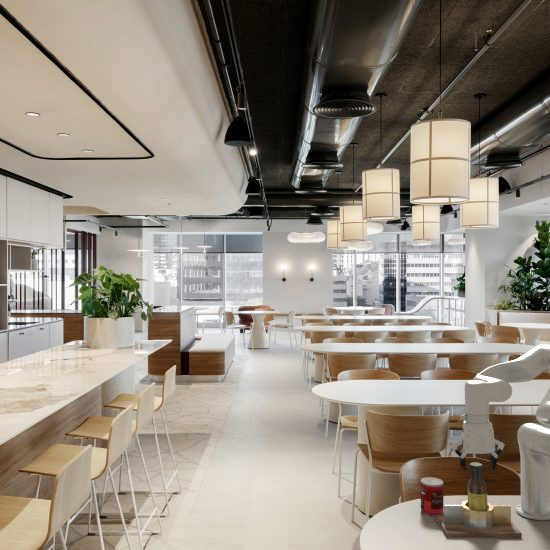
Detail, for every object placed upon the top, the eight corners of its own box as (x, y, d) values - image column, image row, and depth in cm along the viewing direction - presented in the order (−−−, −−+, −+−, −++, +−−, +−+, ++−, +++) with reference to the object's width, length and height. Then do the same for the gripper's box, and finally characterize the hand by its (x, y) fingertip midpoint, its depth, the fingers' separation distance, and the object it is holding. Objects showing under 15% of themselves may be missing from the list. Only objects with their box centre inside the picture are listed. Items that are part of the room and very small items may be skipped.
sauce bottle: (475, 517, 199) (474, 459, 199) (491, 523, 194) (490, 463, 194) (464, 522, 195) (462, 463, 195) (480, 528, 190) (479, 467, 190)
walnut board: (436, 518, 202) (436, 514, 202) (506, 519, 201) (506, 514, 201) (446, 537, 188) (446, 532, 188) (521, 537, 187) (521, 533, 187)
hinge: (440, 516, 200) (440, 499, 200) (505, 517, 199) (505, 499, 199) (447, 529, 190) (447, 511, 190) (516, 530, 189) (516, 512, 189)
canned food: (424, 505, 213) (424, 475, 213) (446, 509, 209) (445, 479, 209) (417, 513, 207) (417, 482, 207) (440, 517, 203) (440, 486, 202)
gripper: (454, 421, 191) (455, 473, 191) (507, 420, 190) (508, 472, 190) (448, 415, 198) (449, 465, 198) (499, 414, 197) (500, 464, 198)
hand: (478, 468), depth 194 cm, fingers open, 9 cm apart
